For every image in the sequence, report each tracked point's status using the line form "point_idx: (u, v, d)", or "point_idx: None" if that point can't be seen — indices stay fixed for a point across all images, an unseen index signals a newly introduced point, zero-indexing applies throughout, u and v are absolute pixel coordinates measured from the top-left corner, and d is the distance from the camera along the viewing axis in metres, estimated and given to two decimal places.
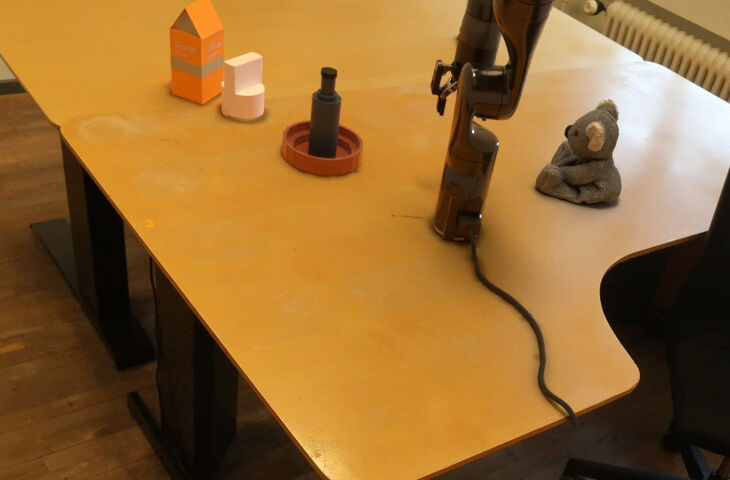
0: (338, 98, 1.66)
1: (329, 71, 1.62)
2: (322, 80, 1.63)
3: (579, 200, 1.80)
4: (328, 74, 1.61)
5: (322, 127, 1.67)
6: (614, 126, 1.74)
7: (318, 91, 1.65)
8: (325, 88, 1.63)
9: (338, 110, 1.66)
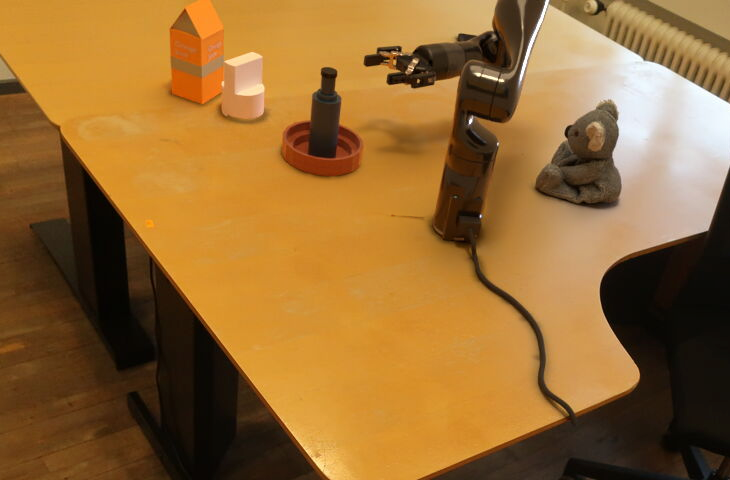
0: (338, 98, 1.66)
1: (329, 71, 1.62)
2: (322, 80, 1.63)
3: (579, 200, 1.80)
4: (328, 74, 1.61)
5: (322, 127, 1.67)
6: (614, 126, 1.74)
7: (318, 91, 1.65)
8: (325, 88, 1.63)
9: (338, 110, 1.66)
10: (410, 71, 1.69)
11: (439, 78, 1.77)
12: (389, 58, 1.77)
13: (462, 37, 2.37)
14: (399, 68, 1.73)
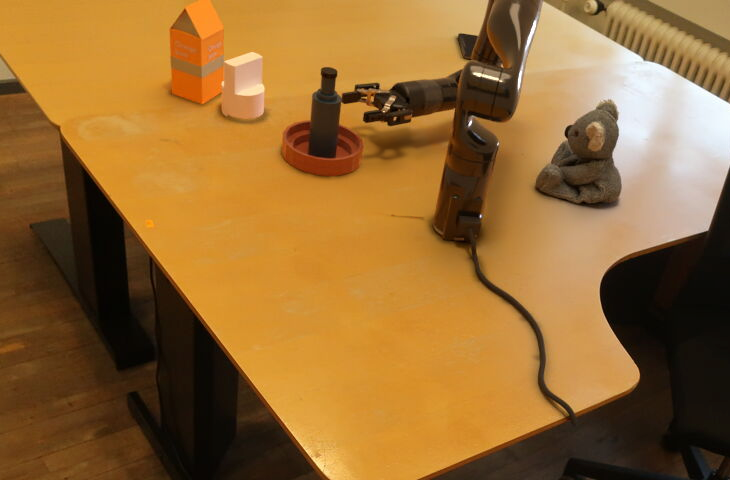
0: (338, 98, 1.66)
1: (329, 71, 1.62)
2: (322, 80, 1.63)
3: (579, 200, 1.80)
4: (328, 74, 1.61)
5: (322, 127, 1.67)
6: (614, 126, 1.74)
7: (318, 91, 1.65)
8: (325, 88, 1.63)
9: (338, 110, 1.66)
10: (387, 109, 1.71)
11: (416, 115, 1.79)
12: (367, 95, 1.79)
13: (462, 37, 2.37)
14: (377, 106, 1.76)
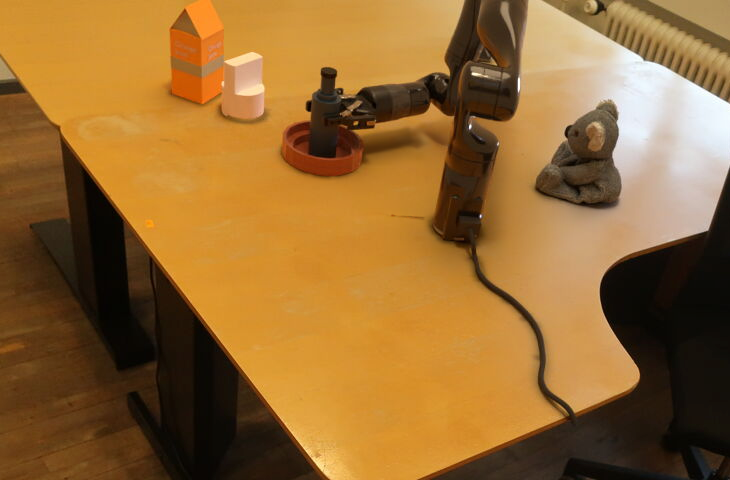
0: (338, 98, 1.66)
1: (329, 71, 1.62)
2: (322, 80, 1.63)
3: (579, 200, 1.80)
4: (328, 74, 1.61)
5: (322, 127, 1.67)
6: (614, 126, 1.74)
7: (318, 91, 1.65)
8: (325, 88, 1.63)
9: (338, 110, 1.66)
10: (347, 113, 1.67)
11: (384, 120, 1.75)
12: None
13: None
14: (342, 111, 1.71)
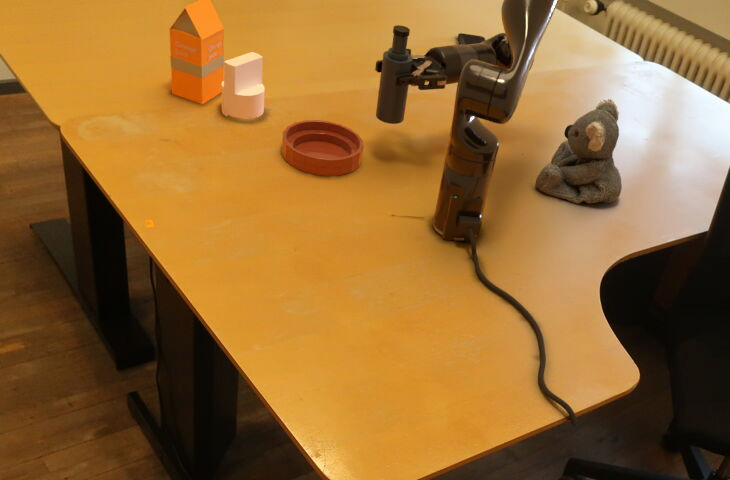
0: (409, 57, 1.65)
1: (402, 29, 1.60)
2: (394, 38, 1.61)
3: (579, 200, 1.80)
4: (401, 32, 1.60)
5: (392, 87, 1.65)
6: (614, 126, 1.74)
7: (389, 50, 1.63)
8: (397, 47, 1.62)
9: (409, 69, 1.65)
10: (418, 72, 1.65)
11: (452, 81, 1.73)
12: None
13: (462, 37, 2.37)
14: (412, 71, 1.69)
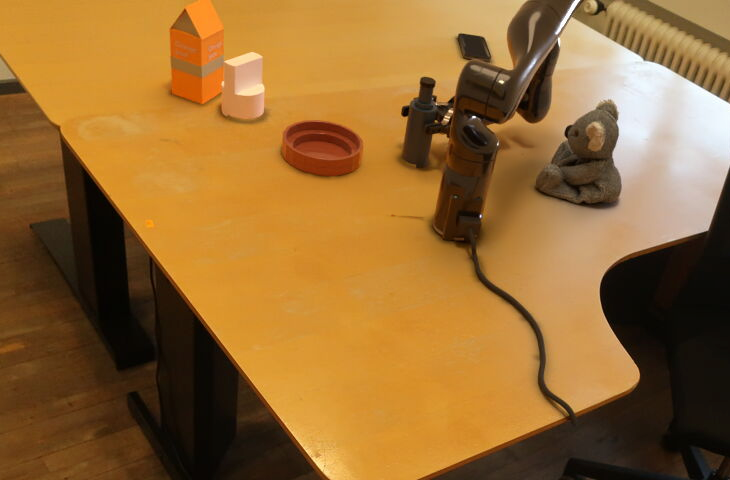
0: (434, 106, 1.74)
1: (428, 80, 1.69)
2: (421, 89, 1.70)
3: (579, 200, 1.80)
4: (427, 84, 1.68)
5: (418, 134, 1.74)
6: (614, 126, 1.74)
7: (416, 100, 1.72)
8: (424, 97, 1.71)
9: (434, 118, 1.74)
10: (446, 121, 1.74)
11: None
12: None
13: (462, 37, 2.37)
14: (436, 118, 1.78)
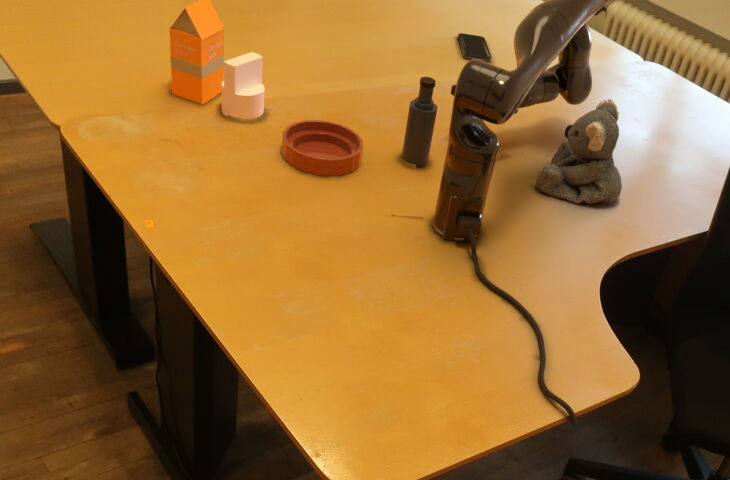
0: (434, 106, 1.74)
1: (428, 80, 1.69)
2: (421, 89, 1.70)
3: (579, 200, 1.80)
4: (427, 84, 1.68)
5: (418, 134, 1.74)
6: (614, 126, 1.74)
7: (416, 100, 1.72)
8: (424, 97, 1.71)
9: (434, 118, 1.74)
10: None
11: (520, 106, 1.87)
12: None
13: (462, 37, 2.37)
14: None
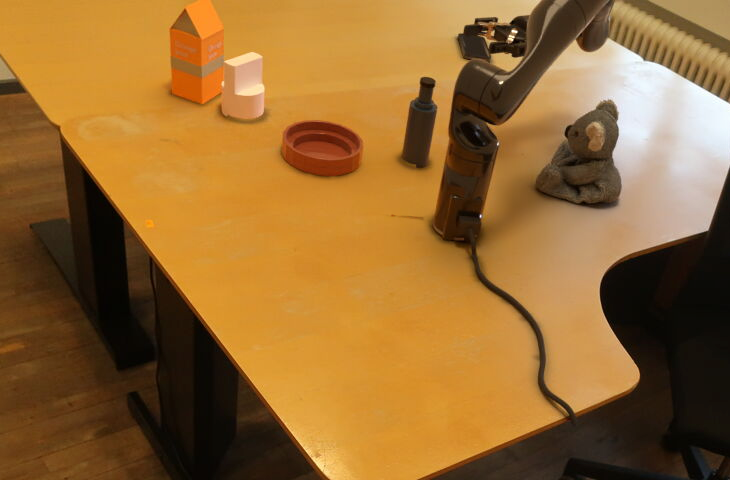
0: (434, 106, 1.74)
1: (428, 80, 1.69)
2: (421, 89, 1.70)
3: (579, 200, 1.80)
4: (427, 84, 1.68)
5: (418, 134, 1.74)
6: (614, 126, 1.74)
7: (416, 100, 1.72)
8: (424, 97, 1.71)
9: (434, 118, 1.74)
10: (511, 40, 1.71)
11: None
12: (486, 29, 1.78)
13: (462, 37, 2.37)
14: (498, 38, 1.75)
